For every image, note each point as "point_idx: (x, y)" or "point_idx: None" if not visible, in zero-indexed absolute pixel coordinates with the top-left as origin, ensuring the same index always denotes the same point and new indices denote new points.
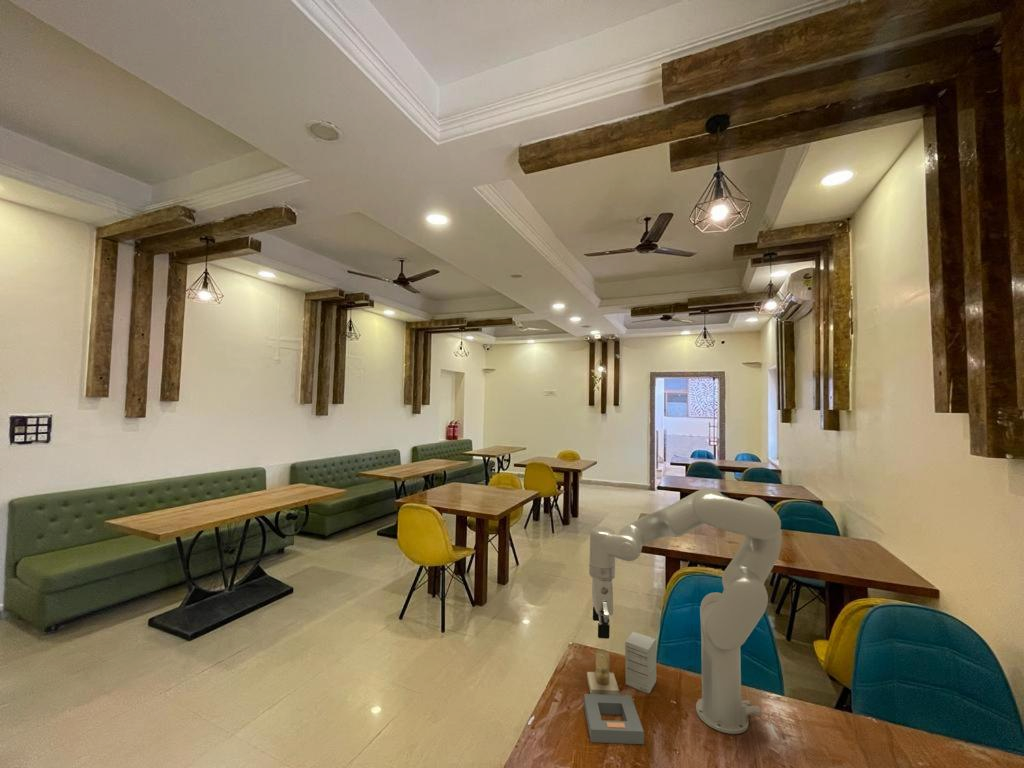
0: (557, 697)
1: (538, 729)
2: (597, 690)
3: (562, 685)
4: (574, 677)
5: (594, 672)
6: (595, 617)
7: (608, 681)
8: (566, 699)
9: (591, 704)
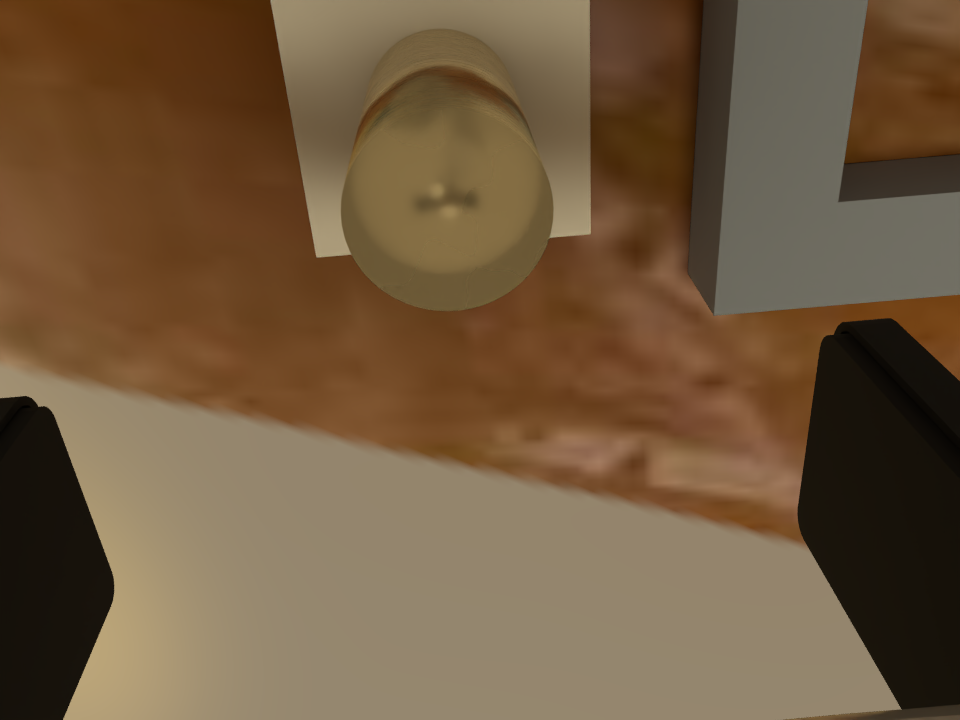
0: (603, 455)
1: None
2: (588, 171)
3: (455, 426)
4: (327, 338)
5: (305, 183)
6: (76, 608)
7: (491, 52)
8: (622, 396)
9: (857, 257)
